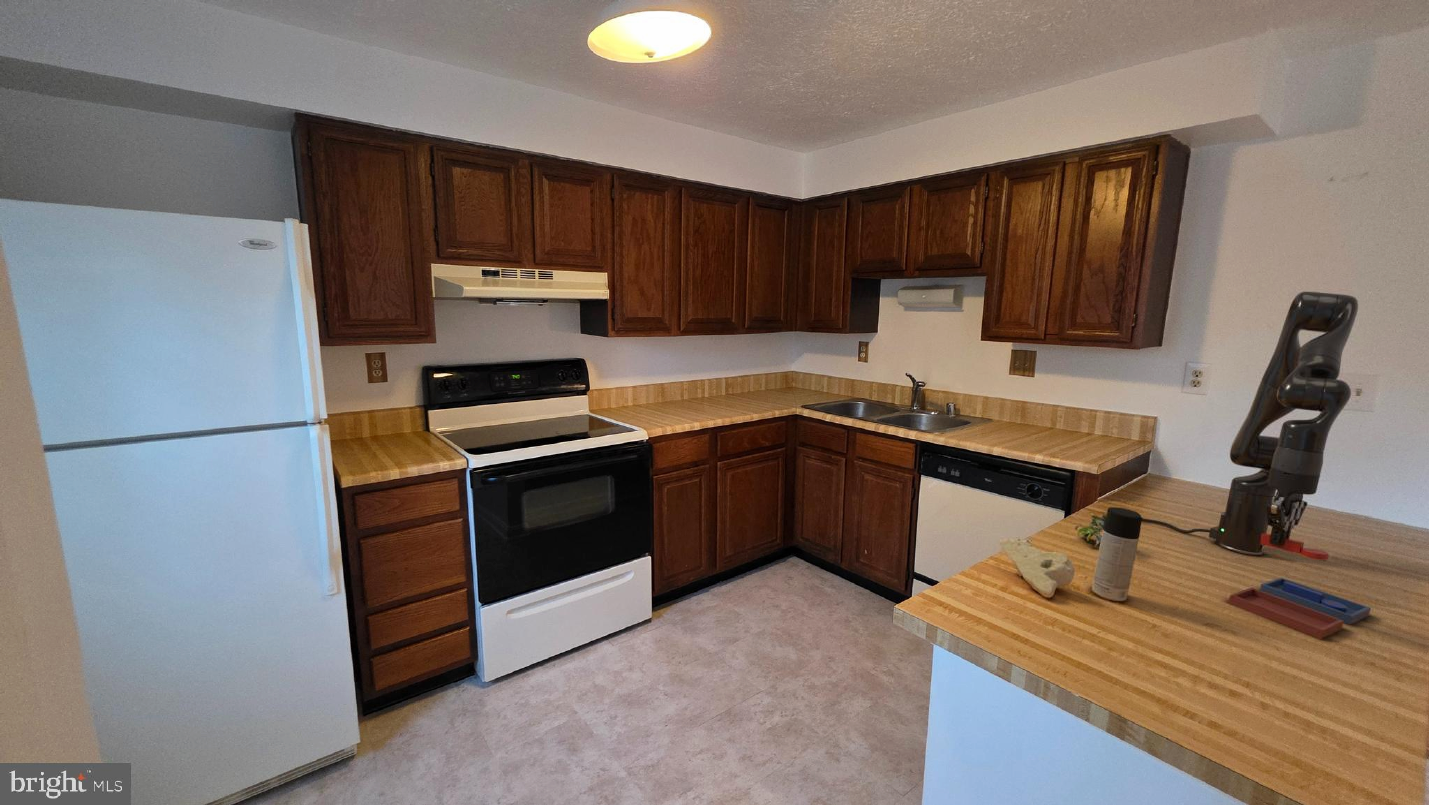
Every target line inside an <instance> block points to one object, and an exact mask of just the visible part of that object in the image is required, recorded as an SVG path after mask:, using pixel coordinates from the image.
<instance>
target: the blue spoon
mask: <svg viewBox="0 0 1429 805" xmlns="http://www.w3.org/2000/svg"><path fill="white" fill-rule="evenodd" d="M1282 591H1284V592H1287V593H1290V594H1293V595H1296V596H1299V597H1302V598H1304V599H1307V600H1310V601H1313V602H1316V603H1319V604H1321V605H1324V606H1327V607H1330V608H1333V609H1336V610H1338V611H1341V612H1344V613H1346V610H1347V606H1345V605H1343V604H1341V603H1339V602H1336V601H1332V600H1327V599H1323V597H1324V594H1323V593H1320V592H1317V591H1314V590H1311V589H1308V588H1305V587H1302V586H1299V585H1296V584H1293V583H1290V582H1287V581H1286V582H1284V583H1283V587H1282Z"/></svg>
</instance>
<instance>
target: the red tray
mask: <svg viewBox="0 0 1429 805" xmlns="http://www.w3.org/2000/svg"><path fill="white" fill-rule="evenodd" d="M1228 604H1231V605H1233V606H1236V607H1238V608H1241V609H1243V610H1246V611H1248V612H1251V613H1253V614H1256V615H1259V616H1261V617H1263V618H1266V619H1268V620H1271V621H1273V622H1276V623H1279V624H1281V625H1284V626H1286V627H1289V628H1292V629H1294V630H1297V631H1299V632H1302V633H1304V634H1307V635H1310V636H1312V637H1314V638H1317V639H1319V640H1323V639H1324V638H1327V637H1328V636H1330V635H1333V634H1335V633H1337V632H1339V631H1341V630H1342V629H1343V624H1344V621H1343V620H1340V619H1338V618H1335V617H1332V616H1329V615H1326V614H1324V613H1321V612H1318V611H1315V610H1313V609H1310V608H1307V607H1304V606H1302V605H1299V604H1296V603H1293V602H1290V601H1288V600H1285V599H1282V598H1279V597H1277V596H1274V595H1271V594H1268V593H1266V592H1263V591H1260V589H1257V588H1254V587H1249V588H1246V589H1243V590H1240V591H1238V592H1234V593H1231V594H1230V595H1229V599H1228Z"/></svg>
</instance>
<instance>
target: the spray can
mask: <svg viewBox="0 0 1429 805" xmlns="http://www.w3.org/2000/svg"><path fill="white" fill-rule="evenodd" d="M1106 515H1107V516H1106V520H1105V523H1104V527H1103V530H1102V532H1101V536H1102V538H1101V543H1099V548H1098V554H1097V558H1096V564H1095V569H1094V575H1093V580H1092V586H1091V591H1092V592H1093V594H1094V595H1096V596H1098V597H1100V598H1103V599H1105V600H1109V601H1113V602H1124V601H1126V600H1127V598H1128V594H1129V589H1130V584H1131V579H1132V574H1133V569H1134V565H1135V560H1136V555H1137V550H1138V545H1139V540H1140V535H1141V528H1142V522H1143V521H1142V518H1143V517H1142V515H1141V514H1140V513H1139V512H1138V511H1135V510H1131V509H1129V508H1124V507H1118V506H1117V507H1116V506H1111V507H1108V508H1107V512H1106Z"/></svg>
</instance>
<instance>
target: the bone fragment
mask: <svg viewBox="0 0 1429 805" xmlns="http://www.w3.org/2000/svg"><path fill="white" fill-rule="evenodd" d="M1032 541H1033V539H1031V538H1026V539H1021V538H1019V537H1015V538H1002V539H1000V540H999V544H1000V548H1001V549H1002V550H1003V551H1004V553H1005V554H1006V555H1007V557H1008V559H1009V560H1010V561H1011V562H1012V563H1013V564H1014V569H1016V570H1017V575H1018V576H1019V577H1022V578H1023V579H1024V580H1025V581H1026V583H1028V584H1029V585H1030V586H1031V587H1032V589H1033V590H1035V591H1036V592H1037V593H1038V594H1040V595H1041V596H1042V597H1043V598H1046V599H1049V598H1051V597H1053V596H1054V594H1055V591H1056V589H1057V588H1060V589H1063V588H1065V587H1067V586H1069V585H1071V583H1073V580H1074V577H1075V567H1074V565H1073V562H1072V561H1071V560H1070V558H1068V556H1067V555H1066V554H1065V553H1063V552H1059V551H1044V550H1042V549H1039V548H1037V547H1036V546H1033V543H1032Z"/></svg>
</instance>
